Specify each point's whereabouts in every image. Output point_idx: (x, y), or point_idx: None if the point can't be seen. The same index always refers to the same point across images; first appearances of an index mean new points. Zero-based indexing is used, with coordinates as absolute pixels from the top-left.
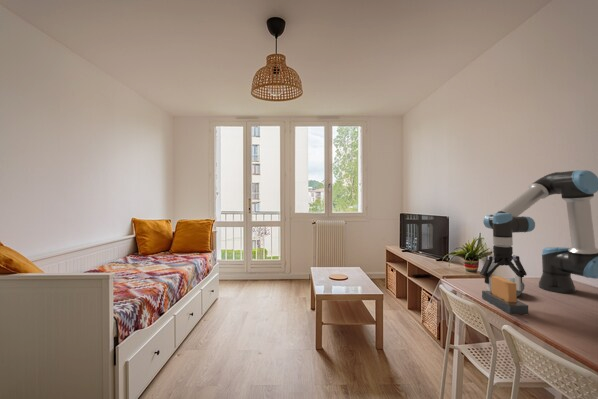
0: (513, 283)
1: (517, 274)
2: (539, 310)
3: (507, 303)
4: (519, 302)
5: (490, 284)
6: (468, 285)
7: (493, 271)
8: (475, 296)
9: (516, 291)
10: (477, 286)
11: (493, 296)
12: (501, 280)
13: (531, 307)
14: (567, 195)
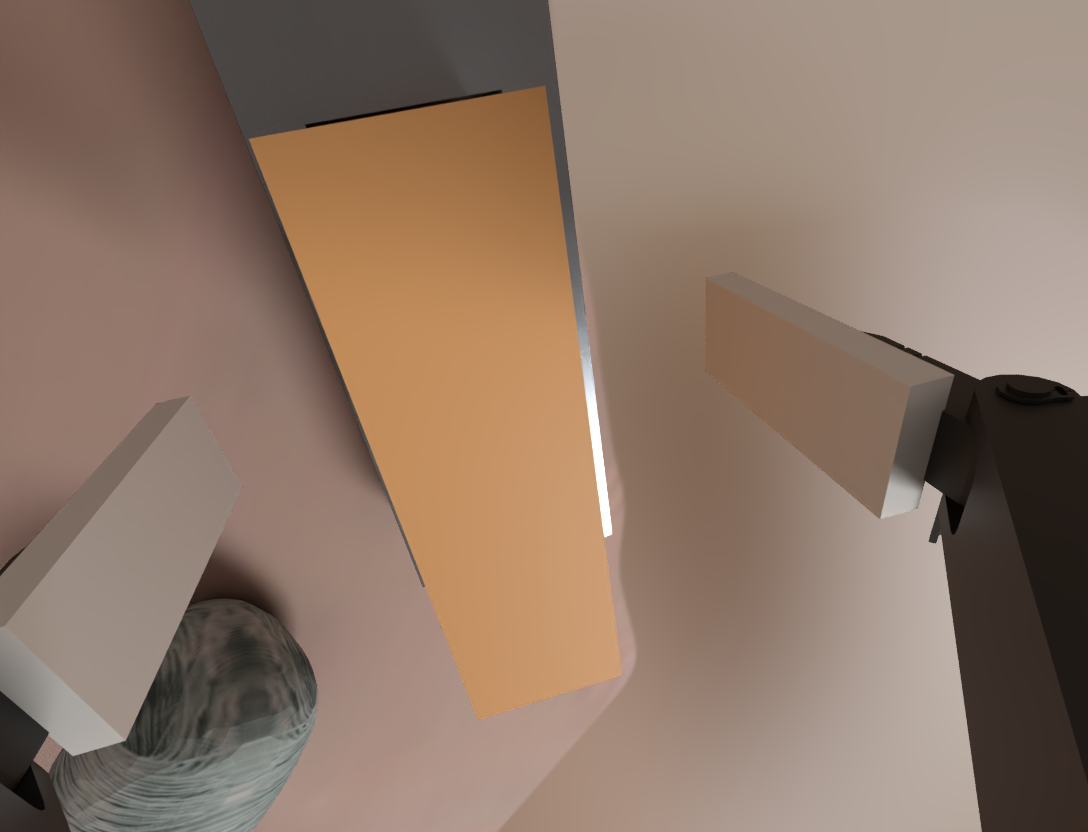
0: (355, 127)
1: (5, 785)
2: (6, 208)
3: (522, 24)
4: (290, 118)
5: (800, 311)
6: (549, 745)
7: (1025, 538)
8: (619, 518)
9: (189, 641)
10: (485, 748)
11: (581, 351)
12: (582, 422)
13: (104, 314)
14: None
